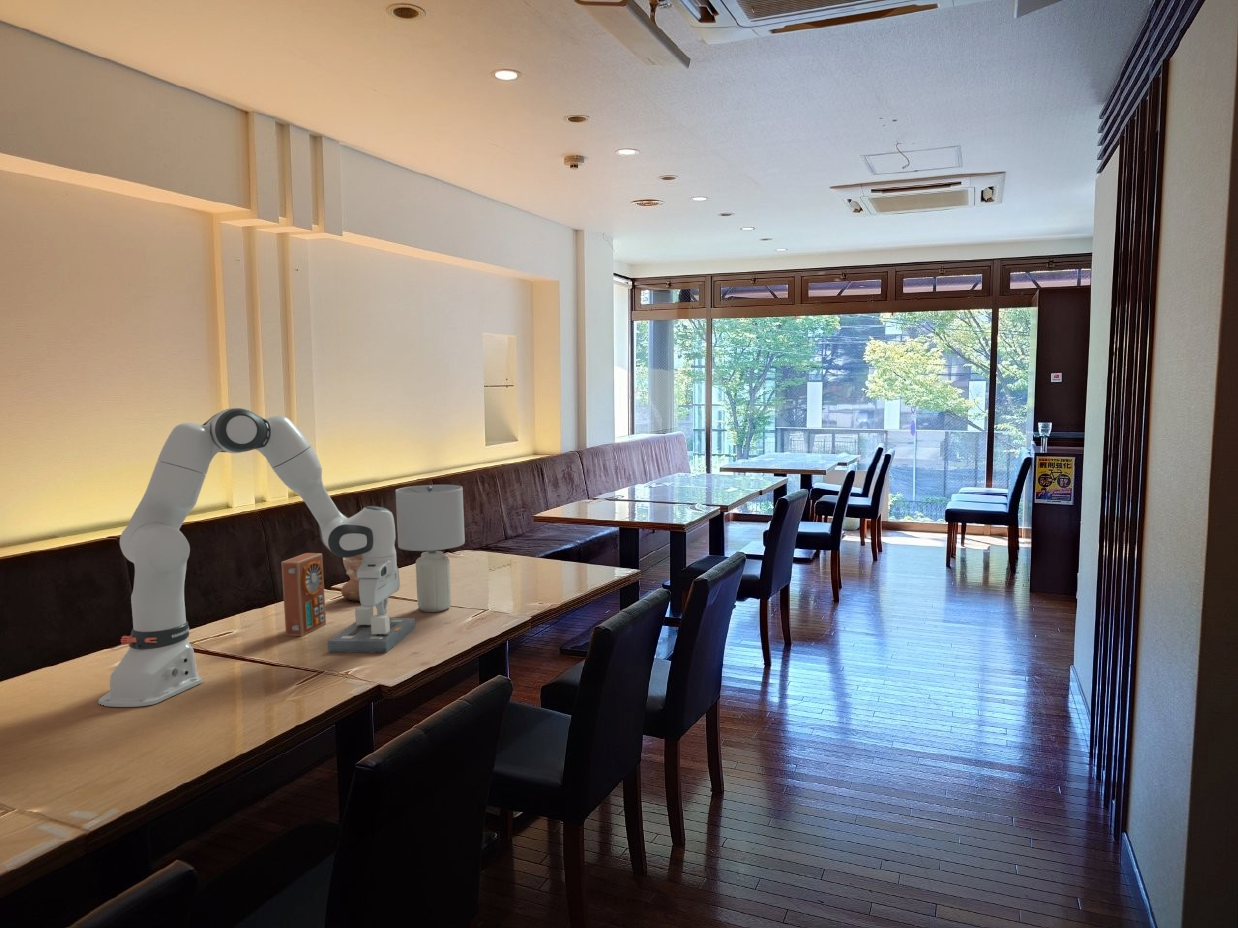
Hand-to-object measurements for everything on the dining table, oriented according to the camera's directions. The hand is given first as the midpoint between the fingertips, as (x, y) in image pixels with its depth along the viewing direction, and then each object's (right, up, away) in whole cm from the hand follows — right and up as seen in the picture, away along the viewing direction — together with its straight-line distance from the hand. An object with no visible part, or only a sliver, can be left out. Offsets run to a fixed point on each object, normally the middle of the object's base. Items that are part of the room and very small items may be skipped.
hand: (382, 614), depth 228 cm
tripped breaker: (0, -4, -2) cm, 5 cm away
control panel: (-26, -7, +14) cm, 31 cm away
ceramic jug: (-20, -4, +49) cm, 53 cm away
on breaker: (-7, -4, +7) cm, 10 cm away
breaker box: (-3, -7, +3) cm, 9 cm away
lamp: (+7, -4, +34) cm, 35 cm away
